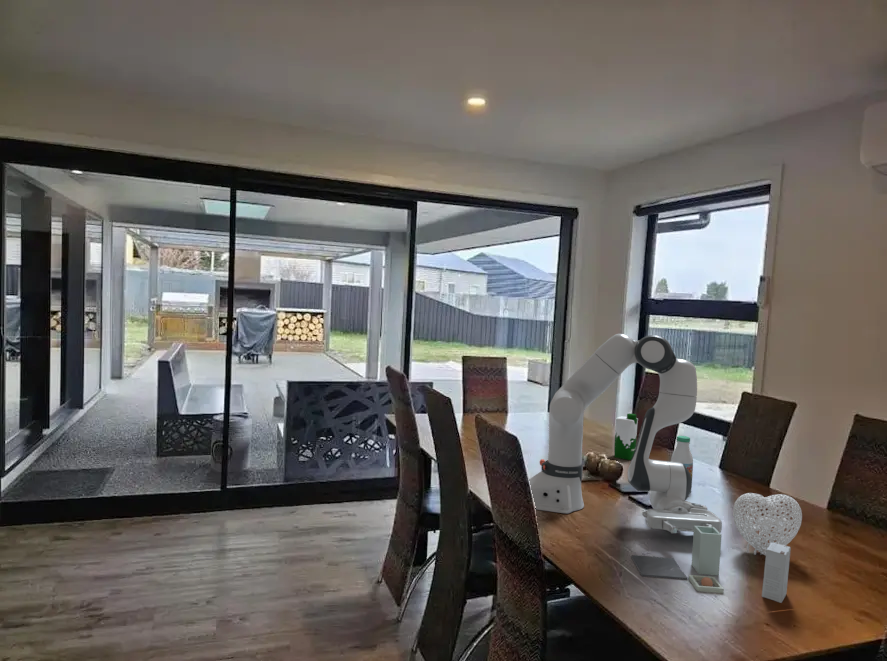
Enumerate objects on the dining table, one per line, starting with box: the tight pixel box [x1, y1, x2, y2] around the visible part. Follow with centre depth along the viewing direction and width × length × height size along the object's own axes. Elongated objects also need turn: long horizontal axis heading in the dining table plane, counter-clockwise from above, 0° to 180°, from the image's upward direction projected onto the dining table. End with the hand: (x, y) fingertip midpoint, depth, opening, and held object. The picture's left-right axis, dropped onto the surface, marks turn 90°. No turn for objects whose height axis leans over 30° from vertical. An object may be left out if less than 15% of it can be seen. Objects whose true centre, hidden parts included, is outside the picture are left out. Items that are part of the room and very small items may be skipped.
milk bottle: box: [670, 435, 694, 489], centre depth 214 cm, size 8×8×20 cm
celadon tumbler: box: [691, 526, 722, 576], centre depth 146 cm, size 5×5×11 cm
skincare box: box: [761, 542, 792, 604], centre depth 134 cm, size 6×4×12 cm
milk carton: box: [613, 413, 639, 461], centre depth 258 cm, size 9×9×20 cm
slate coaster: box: [630, 554, 688, 581], centre depth 146 cm, size 11×11×1 cm
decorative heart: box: [732, 492, 803, 557], centre depth 158 cm, size 18×11×17 cm, turn 89°
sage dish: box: [688, 574, 725, 594], centre depth 138 cm, size 6×6×2 cm
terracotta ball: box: [700, 577, 714, 587], centre depth 137 cm, size 3×3×3 cm
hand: (691, 532), depth 157 cm, fingers open, 8 cm apart
